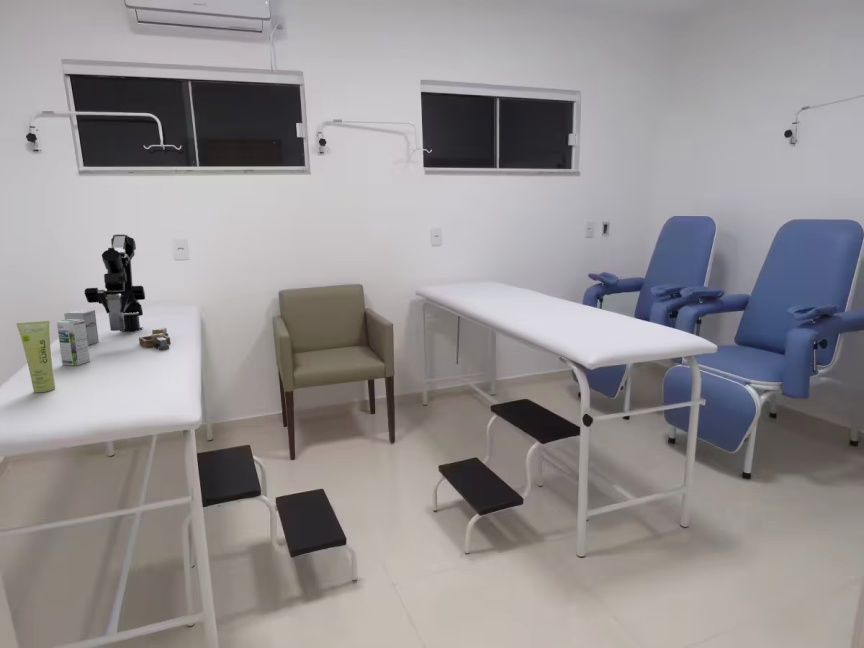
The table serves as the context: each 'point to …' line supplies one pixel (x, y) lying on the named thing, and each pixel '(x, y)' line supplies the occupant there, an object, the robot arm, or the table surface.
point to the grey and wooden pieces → (159, 338)
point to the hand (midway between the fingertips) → (115, 312)
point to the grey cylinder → (115, 312)
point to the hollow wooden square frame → (150, 340)
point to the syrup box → (73, 342)
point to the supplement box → (86, 323)
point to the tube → (38, 354)
